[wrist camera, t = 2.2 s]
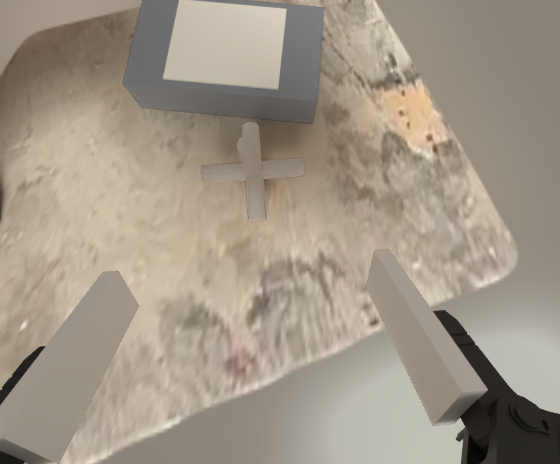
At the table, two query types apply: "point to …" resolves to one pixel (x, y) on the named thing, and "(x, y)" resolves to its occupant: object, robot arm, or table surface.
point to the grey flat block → (227, 58)
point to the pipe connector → (252, 171)
